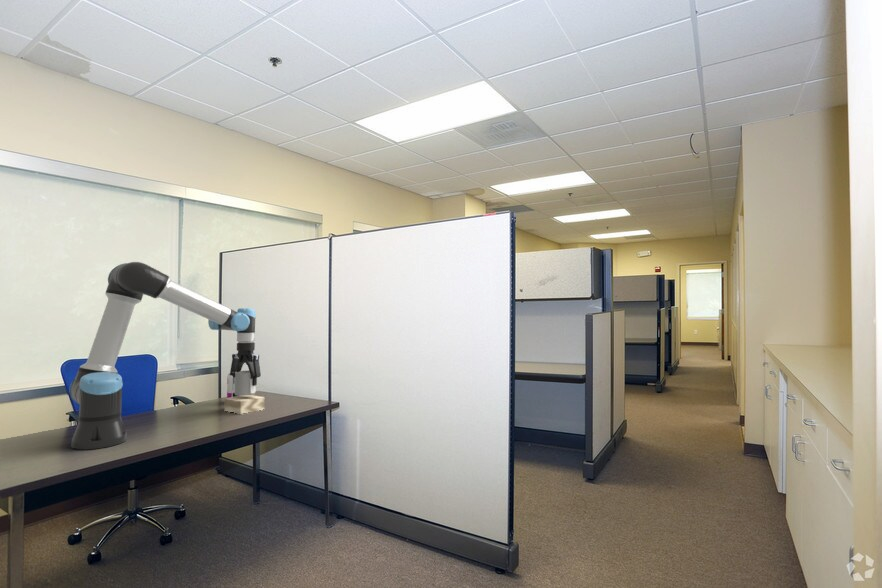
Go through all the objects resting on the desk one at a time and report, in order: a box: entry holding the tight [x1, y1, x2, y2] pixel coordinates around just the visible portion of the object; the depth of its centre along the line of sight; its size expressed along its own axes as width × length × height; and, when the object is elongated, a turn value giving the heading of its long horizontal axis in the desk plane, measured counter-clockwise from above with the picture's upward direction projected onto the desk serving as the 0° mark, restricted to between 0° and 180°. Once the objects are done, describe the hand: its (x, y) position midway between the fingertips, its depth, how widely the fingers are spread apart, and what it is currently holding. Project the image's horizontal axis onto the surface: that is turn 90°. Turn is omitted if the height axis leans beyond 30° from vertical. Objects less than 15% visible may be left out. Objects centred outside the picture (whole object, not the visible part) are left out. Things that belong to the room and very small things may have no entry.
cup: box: [235, 370, 256, 396], centre depth 206 cm, size 8×8×10 cm
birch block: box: [223, 394, 266, 415], centre depth 205 cm, size 12×12×6 cm
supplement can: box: [226, 371, 237, 398], centre depth 221 cm, size 8×8×15 cm
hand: (244, 392), depth 205 cm, fingers closed on cup, 8 cm apart
